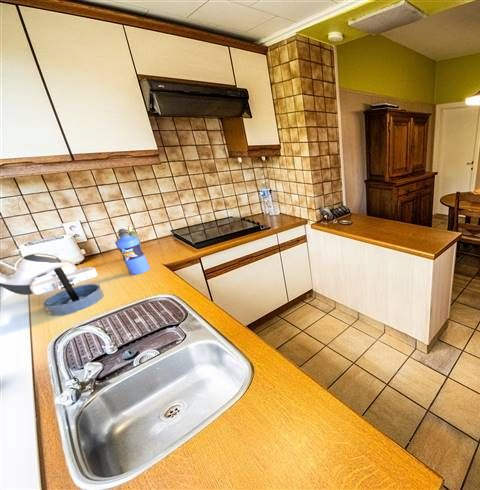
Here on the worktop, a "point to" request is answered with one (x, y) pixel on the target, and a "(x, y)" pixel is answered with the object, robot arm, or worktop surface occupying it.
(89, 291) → the blue grey round bowl
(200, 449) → the worktop surface
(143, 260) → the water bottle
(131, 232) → the vegetable
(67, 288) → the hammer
